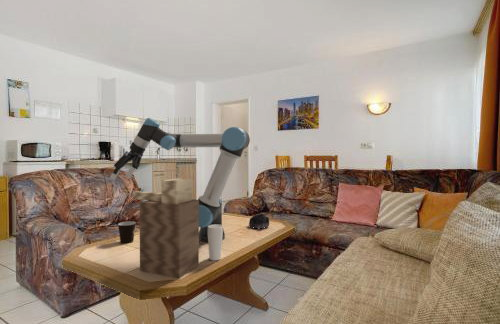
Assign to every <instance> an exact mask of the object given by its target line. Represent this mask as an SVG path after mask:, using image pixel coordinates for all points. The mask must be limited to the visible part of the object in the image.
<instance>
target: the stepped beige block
mask: <svg viewBox="0 0 500 324" xmlns="http://www.w3.org/2000/svg"><path fill="white" fill-rule="evenodd" d="M132 198H133V200H139V201H141V200H142V201H143V200H144V201H148V200H153V201H162V203H166V204H179V203H183V202H187V201H191V200H193V179H192V178H172V179H170V178H169V179H164V180H161V192H154V191H142V190H141V191H133V192H132Z"/></svg>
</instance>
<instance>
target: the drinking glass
mask: <svg viewBox="0 0 500 324" xmlns="http://www.w3.org/2000/svg"><path fill="white" fill-rule="evenodd" d="M223 230H224V228H223V224H222V225H218V224H214V225H209V226H208V242H207V243H208V245H207V246H208V257H209V260H210V261H213V262H214V261H219V260H221V258H222V248H223V247H222V244H223V240H222V237H223Z"/></svg>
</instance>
